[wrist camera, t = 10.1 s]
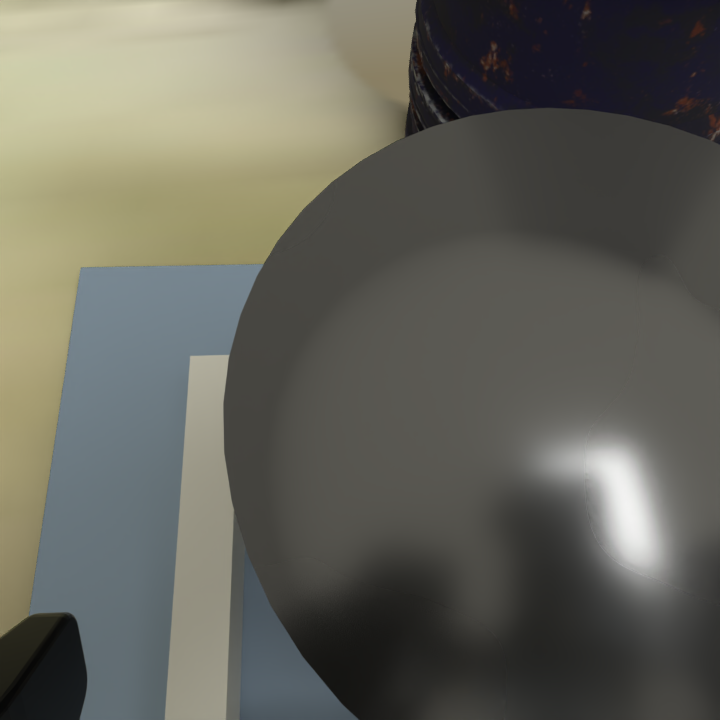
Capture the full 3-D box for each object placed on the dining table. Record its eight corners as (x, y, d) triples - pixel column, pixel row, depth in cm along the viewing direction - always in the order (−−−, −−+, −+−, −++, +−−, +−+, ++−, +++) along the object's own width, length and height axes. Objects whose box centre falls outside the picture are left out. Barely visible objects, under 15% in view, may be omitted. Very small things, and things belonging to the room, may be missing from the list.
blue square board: (872, 1028, 14) (992, 1111, 11) (-24, 1082, 13) (-112, 1183, 11) (676, 270, 21) (722, 217, 19) (90, 281, 21) (53, 227, 18)
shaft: (357, 742, 15) (437, 1062, 3) (275, 532, 17) (126, 230, 5) (551, 642, 16) (1172, 596, 4) (453, 453, 18) (690, 39, 6)
